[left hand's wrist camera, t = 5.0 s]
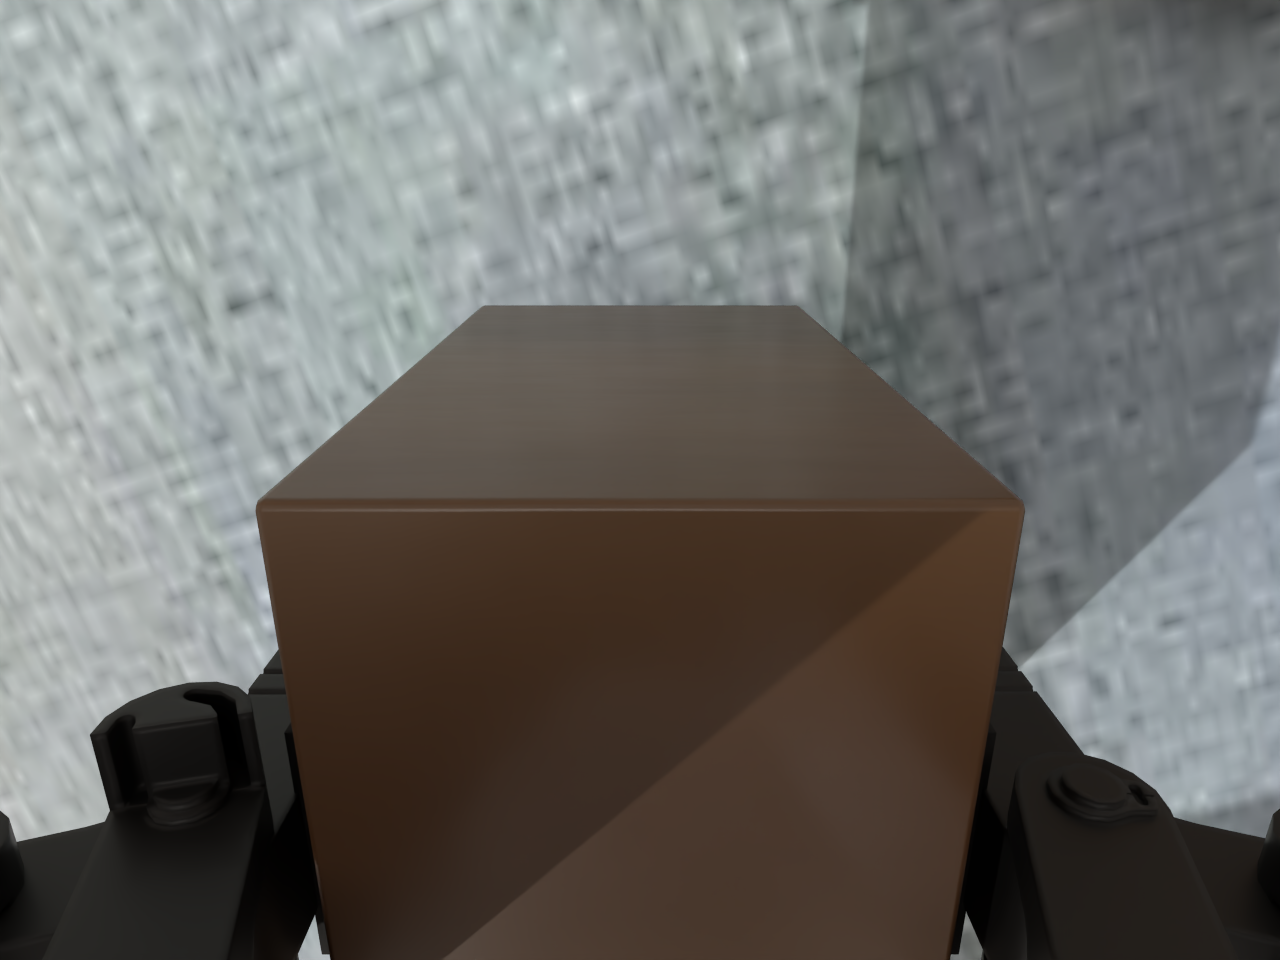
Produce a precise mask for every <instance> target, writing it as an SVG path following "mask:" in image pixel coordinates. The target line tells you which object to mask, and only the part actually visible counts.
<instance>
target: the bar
mask: <svg viewBox="0 0 1280 960" xmlns="http://www.w3.org/2000/svg"><path fill="white" fill-rule="evenodd" d="M1024 514H1025V507H1024V504H1023V501H1022V500H1021V499H1020V498H1019V497H1018V496H1016V495H1015V494H1014V493H1013V492H1012V491H1011V490H1009V489H1008V488H1007V487H1006V486H1005V485H1004V484H1003V483H1001V482H1000V481H999V480H998V479H997V478H996V477H994V476H993V475H992V474H991V473H990V472H989V471H988V470H986V469H985V468H984V467H983V466H982V465H981V464H980V463H978V462H977V461H976V460H975V459H974V458H973V457H971V456H970V455H969V454H968V453H967V452H966V451H965V450H963V449H962V448H961V447H960V446H959V445H958V444H957V443H955V442H954V441H953V440H952V439H951V438H950V437H948V436H947V435H946V434H945V433H944V432H943V431H942V430H940V429H939V428H938V427H937V426H936V425H935V424H933V423H932V422H931V421H930V420H929V419H928V418H927V417H925V416H924V415H923V414H922V413H921V412H920V411H919V410H917V409H916V408H915V407H914V406H913V405H912V404H910V403H909V402H908V401H907V400H906V399H905V398H904V397H902V396H901V395H900V394H899V393H898V392H897V391H896V390H894V389H893V388H892V387H891V386H890V385H889V384H887V383H886V382H885V381H884V380H883V379H882V378H881V377H879V376H878V375H877V374H876V373H875V372H874V371H873V370H871V369H870V368H869V367H868V366H867V365H866V364H864V363H863V362H862V361H861V360H860V359H859V358H858V357H856V356H855V355H854V354H853V353H852V352H851V351H849V350H848V349H847V348H846V347H845V346H844V345H843V344H841V343H840V342H839V341H838V340H837V339H836V338H835V337H833V336H832V335H831V334H830V333H829V332H828V331H826V330H825V329H824V328H823V327H822V326H821V325H820V324H818V323H817V322H816V321H815V320H814V319H813V318H812V317H810V316H809V315H808V314H807V313H806V312H805V311H803V310H802V309H801V308H800V307H798V306H483V307H481V308H480V309H479V310H477V311H476V312H475V313H474V314H473V315H472V316H471V317H469V318H468V319H467V320H466V321H465V322H464V323H462V324H461V325H460V326H459V327H458V328H457V329H456V330H454V331H453V332H452V333H451V334H450V335H449V336H447V337H446V338H445V339H444V340H443V341H442V342H441V343H439V344H438V345H437V346H436V347H435V348H434V349H432V350H431V351H430V352H429V353H428V354H427V355H426V356H424V357H423V358H422V359H421V360H420V361H419V362H417V363H416V364H415V365H414V366H413V367H412V368H411V369H409V370H408V371H407V372H406V373H405V374H404V375H402V376H401V377H400V378H399V379H398V380H397V381H396V382H394V383H393V384H392V385H391V386H390V387H389V388H387V389H386V390H385V391H384V392H383V393H382V394H381V395H379V396H378V397H377V398H376V399H375V400H374V401H372V402H371V403H370V404H369V405H368V406H367V407H366V408H364V409H363V410H362V411H361V412H360V413H359V414H357V415H356V416H355V417H354V418H353V419H352V420H351V421H349V422H348V423H347V424H346V425H345V426H344V427H342V428H341V429H340V430H339V431H338V432H337V433H336V434H334V435H333V436H332V437H331V438H330V439H329V440H327V441H326V442H325V443H324V444H323V445H322V446H321V447H319V448H318V449H317V450H316V451H315V452H314V453H312V454H311V455H310V456H309V457H308V458H307V459H305V460H304V461H303V462H302V463H301V464H300V465H299V466H297V467H296V468H295V469H294V470H293V471H292V472H291V473H289V474H288V475H287V476H286V477H285V478H284V479H282V480H281V481H280V482H279V483H278V484H277V485H275V486H274V487H273V488H272V489H271V490H270V491H269V492H267V493H266V494H265V495H264V496H263V497H262V498H260V499H259V500H258V502H257V506H256V516H257V522H258V528H259V534H260V540H261V546H262V552H263V558H264V564H265V570H266V576H267V582H268V588H269V594H270V600H271V606H272V612H273V618H274V624H275V630H276V636H277V642H278V648H279V654H280V660H281V666H282V672H283V678H284V684H285V690H286V696H287V702H288V708H289V714H290V720H291V726H292V732H293V738H294V744H295V750H296V756H297V762H298V768H299V774H300V779H301V785H302V791H303V797H304V803H305V809H306V815H307V821H308V827H309V833H310V839H311V845H312V851H313V857H314V863H315V869H316V875H317V881H318V887H319V893H320V899H321V905H322V911H323V917H324V923H325V929H326V935H327V941H328V947H329V953H330V959H331V960H950V956H951V950H952V944H953V938H954V932H955V926H956V920H957V914H958V908H959V902H960V896H961V890H962V884H963V878H964V872H965V866H966V860H967V854H968V848H969V842H970V836H971V830H972V824H973V818H974V812H975V806H976V801H977V795H978V789H979V783H980V777H981V771H982V765H983V759H984V753H985V747H986V741H987V735H988V729H989V723H990V717H991V711H992V705H993V699H994V693H995V687H996V681H997V675H998V669H999V663H1000V657H1001V651H1002V645H1003V639H1004V633H1005V627H1006V621H1007V615H1008V609H1009V603H1010V597H1011V591H1012V585H1013V580H1014V574H1015V568H1016V562H1017V556H1018V550H1019V544H1020V538H1021V532H1022V526H1023V520H1024Z"/></svg>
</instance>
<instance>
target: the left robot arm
mask: <svg viewBox="0 0 1280 960" xmlns="http://www.w3.org/2000/svg"><path fill="white" fill-rule="evenodd" d="M90 737H91V741H92V745H93V748H94V752H95V756H96V760H97V764H98V767H99V771H100V775H101V779H102V782H103V786H104V790H105V794H106V797H107V801H108V805H109V809H110V812H109V814H108V816H107V818H106V821H105V822H102V823H99V824H95V825H91V826H88V827H84V828H79V829H75V830H70V831H65V832H61V833H56V834H52V835H47V836H42V837H38V838H33V839H28V840H24V841H19V842H16V839H15V836H14V833H13V830H12V826H11V823H10V820H9V818H8V817H7V816H6V815H5V814H3V813H2V812H1V811H0V960H299V957H298V952H299V950H300V948H301V945H302V943H303V941H304V939H305V936H306V934H307V932H308V929H309V927H310V925H311V922H312V920H313V918H314V916H316V922H317V928H318V934H319V940H320V945H321V951H322V954H330V953H329V947H328V941H327V935H326V929H325V923H324V917H323V911H322V905H321V899H320V893H319V887H318V881H317V875H316V869H315V863H314V857H313V851H312V845H311V839H310V833H309V827H308V821H307V815H306V809H305V803H304V797H303V791H302V785H301V779H300V774H299V768H298V762H297V756H296V750H295V744H294V738H293V732H292V726H291V720H290V714H289V708H288V702H287V696H286V690H285V684H284V678H283V672H282V666H281V660H280V654H279V650H278V651H277V652H276V654H275V655H274V656H273V658H272V659H271V660H270V662H269V663H268V664H267V666H266V667H265V668H264V673H263V674H260V675H259V676H258V678H257V679H256V680H255V682H254V683H253V684H252V686H251V687H250V688H249V693H248V695H247V694H246V693H245V692H244V691H243V690H241V689H240V688H239V687H237V686H233V685H228V684H224V683H220V682H196V683H186V684H181V685H177V686H172V687H168V688H163V689H159V690H156V691H154V692H152V693H149V694H147V695H144V696H142V697H139V698H137V699H134V700H132V701H130V702H128V703H126V704H125V705H123V706H122V707H120V708H119V709H117V710H116V711H114V712H113V713H111V714H109V715H108V716H106V717H105V718H104V719H103V720H102V722H101V723H100V724H99V725H98V726H97V727H96V728H95V730H94V731H93V732H92V733H91V734H90ZM966 912H967V914H968V917H969V919H970V921H971V923H972V926H973V928H974V930H975V933H976V935H977V937H978V939H979V942H980V944H981V946H982V949H983V952H982V957H981V960H1280V809H1279V810H1278V811H1276V812H1275V813H1274V814H1273V816H1272V819H1271V823H1270V826H1269V829H1268V832H1267V835H1266V838H1261V837H1256V836H1251V835H1247V834H1242V833H1237V832H1233V831H1228V830H1223V829H1219V828H1214V827H1210V826H1205V825H1200V824H1196V823H1192V822H1189V821H1185V820H1181V819H1178V818H1174V817H1173V815H1172V812H1171V810H1170V809H1169V807H1168V806H1167V805H1166V803H1165V802H1164V801H1163V799H1162V798H1161V797H1160V795H1159V794H1158V793H1157V791H1156V790H1155V789H1153V788H1152V787H1151V786H1149V785H1148V784H1147V783H1145V782H1144V781H1143V780H1141V779H1140V778H1139V777H1137V776H1136V775H1135V774H1133V773H1132V772H1129V771H1127V770H1125V769H1123V768H1121V767H1119V766H1117V765H1114V764H1112V763H1110V762H1108V761H1106V760H1103V759H1099V758H1095V757H1091V756H1087V755H1084V754H1083V752H1082V751H1081V750H1080V748H1079V747H1078V746H1077V744H1076V743H1075V742H1074V740H1073V739H1072V738H1071V736H1070V735H1069V734H1068V732H1067V731H1066V730H1065V728H1064V727H1063V726H1062V725H1061V723H1060V722H1059V721H1058V719H1057V718H1056V717H1055V715H1054V714H1053V713H1052V711H1051V710H1050V709H1049V707H1048V706H1047V705H1046V703H1045V702H1044V701H1043V699H1042V698H1041V697H1040V695H1039V694H1038V693H1037V691H1033V686H1032V685H1031V684H1030V682H1029V681H1028V680H1027V678H1026V677H1025V676H1024V674H1023V673H1022V672H1021V671H1018V666H1017V665H1016V664H1015V662H1014V661H1013V660H1012V658H1011V657H1010V656H1009V655H1008V653H1007V652H1006V651H1005V649H1004V648H1003V647H1002V651H1001V657H1000V663H999V669H998V675H997V681H996V687H995V693H994V699H993V705H992V711H991V717H990V723H989V729H988V735H987V741H986V747H985V753H984V759H983V765H982V771H981V777H980V783H979V789H978V795H977V801H976V806H975V812H974V818H973V824H972V830H971V836H970V842H969V848H968V854H967V860H966V866H965V872H964V878H963V884H962V890H961V896H960V902H959V908H958V914H957V920H956V926H955V932H954V938H953V944H952V950H951V954H959V949H960V943H961V937H962V931H963V926H964V920H965V914H966Z"/></svg>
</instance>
